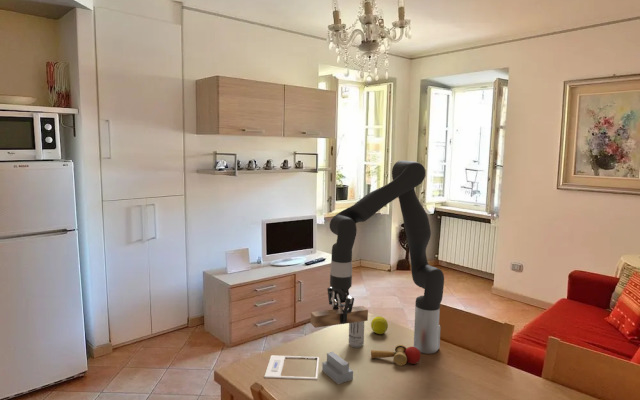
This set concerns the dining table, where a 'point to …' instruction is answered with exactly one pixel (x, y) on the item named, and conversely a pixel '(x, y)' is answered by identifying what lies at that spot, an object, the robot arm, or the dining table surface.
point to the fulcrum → (337, 368)
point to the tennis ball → (379, 325)
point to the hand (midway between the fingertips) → (339, 320)
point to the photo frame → (277, 365)
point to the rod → (338, 316)
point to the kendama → (399, 355)
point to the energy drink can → (356, 334)
